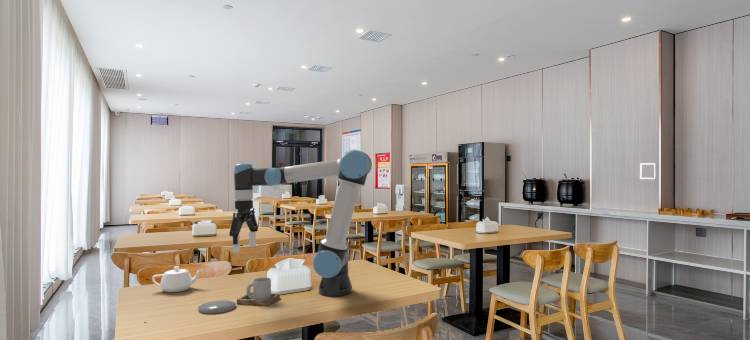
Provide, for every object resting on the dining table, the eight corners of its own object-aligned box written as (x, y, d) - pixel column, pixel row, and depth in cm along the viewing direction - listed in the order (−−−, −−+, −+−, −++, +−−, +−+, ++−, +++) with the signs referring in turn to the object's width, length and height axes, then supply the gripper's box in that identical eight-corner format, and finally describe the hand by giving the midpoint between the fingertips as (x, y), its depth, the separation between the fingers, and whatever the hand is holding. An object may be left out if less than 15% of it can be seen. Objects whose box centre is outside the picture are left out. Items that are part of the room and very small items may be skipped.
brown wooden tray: (279, 298, 185) (279, 293, 185) (268, 305, 174) (268, 301, 174) (249, 296, 188) (249, 292, 188) (236, 304, 177) (236, 299, 177)
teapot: (149, 295, 189) (149, 271, 189) (154, 288, 202) (154, 265, 202) (202, 291, 196) (202, 267, 196) (204, 284, 209) (204, 261, 209)
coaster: (241, 303, 177) (241, 301, 177) (223, 314, 163) (223, 312, 163) (211, 302, 180) (211, 299, 180) (190, 312, 166) (190, 310, 166)
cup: (270, 302, 178) (270, 281, 178) (245, 304, 177) (245, 282, 177) (271, 297, 185) (271, 277, 185) (247, 299, 184) (247, 278, 184)
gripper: (250, 198, 198) (250, 244, 198) (219, 201, 173) (220, 254, 173) (265, 197, 196) (266, 244, 196) (236, 201, 172) (237, 254, 172)
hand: (244, 249), depth 185 cm, fingers open, 13 cm apart
